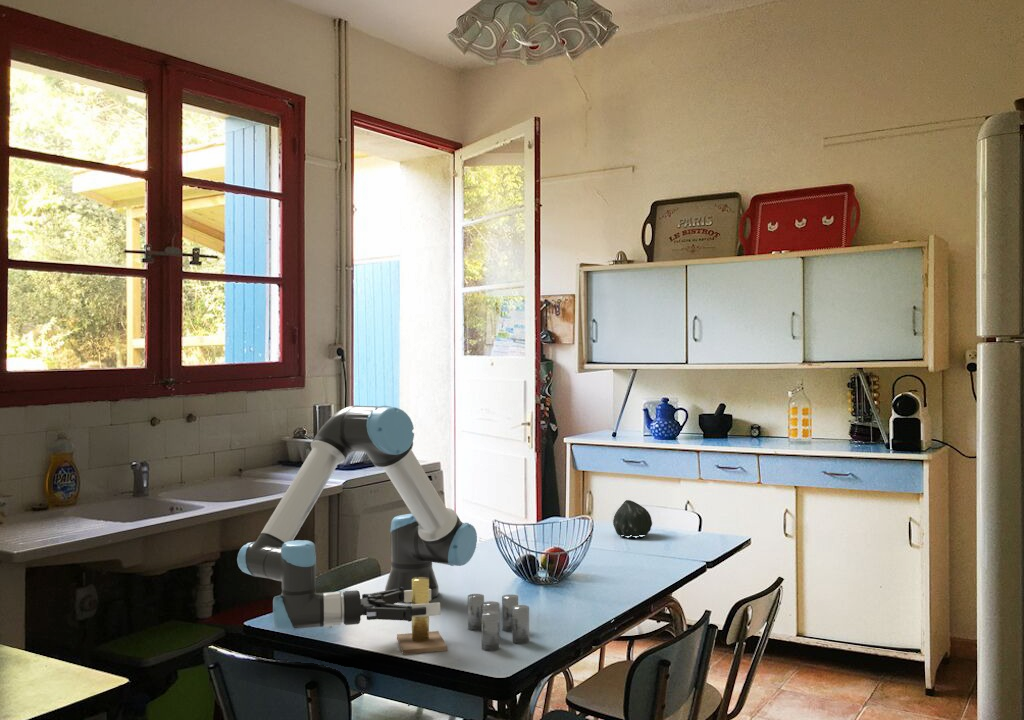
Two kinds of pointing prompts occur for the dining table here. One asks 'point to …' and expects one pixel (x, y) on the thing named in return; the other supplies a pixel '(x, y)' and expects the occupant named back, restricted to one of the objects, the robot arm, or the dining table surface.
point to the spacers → (498, 620)
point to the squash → (632, 520)
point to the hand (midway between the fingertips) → (435, 601)
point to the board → (421, 643)
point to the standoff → (420, 597)
